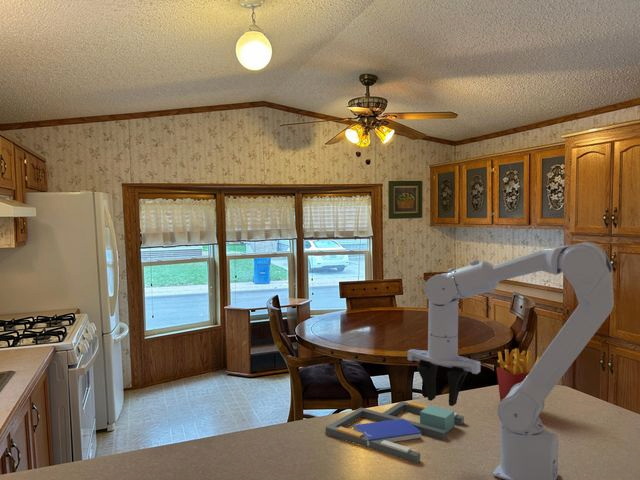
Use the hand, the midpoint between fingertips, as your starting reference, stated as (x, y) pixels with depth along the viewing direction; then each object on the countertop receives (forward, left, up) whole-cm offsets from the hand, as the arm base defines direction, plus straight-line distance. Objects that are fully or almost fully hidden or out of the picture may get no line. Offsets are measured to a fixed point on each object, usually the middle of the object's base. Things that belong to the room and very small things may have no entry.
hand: (442, 401), depth 96 cm
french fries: (-5, -33, -11) cm, 35 cm away
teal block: (+6, -11, -10) cm, 16 cm away
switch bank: (+10, -11, -10) cm, 18 cm away
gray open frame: (+13, 0, -10) cm, 17 cm away
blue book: (+13, 0, -10) cm, 17 cm away
